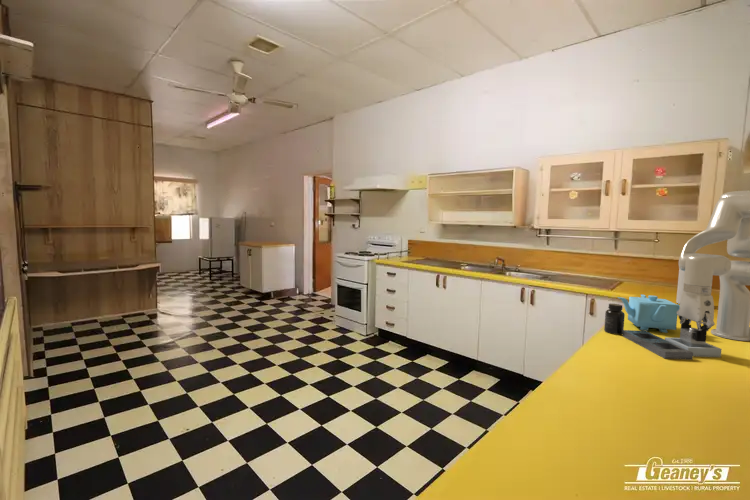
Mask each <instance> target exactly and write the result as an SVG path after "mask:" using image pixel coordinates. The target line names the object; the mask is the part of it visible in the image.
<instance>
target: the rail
mask: <svg viewBox="0 0 750 500" xmlns="http://www.w3.org/2000/svg"><path fill="white" fill-rule="evenodd" d="M621 336H622V337H623V338H625V339H628V340H629V341H631V342H633V343H634V344H636V345H638V346H640V347H642V348H644V349H646V350H648V351H649V352H652V353H654V354H655V355H656V356H659V357H662V358H663V359H665V360H666V359H667V360H689V361H690V360H691V361H693V358H694V356H693V352H691V351H688V350H686V349H684V348H682V347H680V346H677V345H675V344H673V343H671V342H669V341H666V340H665V338H662V337H660V336H658V335H655V334H653V333H651V332H648V331H643V330H633V329H632V330H631V329H630V330H629V329H627V330H626V329H624V330H622V334H621Z"/></svg>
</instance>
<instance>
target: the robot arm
mask: <svg viewBox="0 0 750 500" xmlns="http://www.w3.org/2000/svg"><path fill="white" fill-rule="evenodd" d="M724 241H727V242H726V252H727V255H729V256H731V257H734V258H743V259H750V190H735V191H727V192H724V193H722V194H721V195H720V196H719V199H718V200H717V201H716V203H715V206H714V208H713V210H712V213H711V215H710V218H709V221H708V223H707V226H706V228H705V229H704V230H702V231H701V232H699V233H696V234H695V235H694V236H692V237H691V238H690V239H688V240H687V241H686V243H685V244H684V246H683V248H682V250H681V253H680V255H679V257H678V258H679V259H678V269H679V268H680V269H681V270H682V271H685V276H684V287H683V293H682V296H681V300H680V307H679V310H678V311H677V317H678V319H679V323H680V329H681V328H686V329H689V328H692V324H691V322H692V321H693V322H695V323H696V328H697V329H698V330H696V335H695V341H702V342H705V341H706V342H707V334H708V333H707V332H709V330H710V329H711V328H712V327H714V326H715V325H716V326H715V328H713V329H711V330H710V333H711V334H712V335H714V336H716V337H719V338H724V339H729V340H734V341H741V342H742V341H745V342H750V290H749V288H748V287H746V286H750V261H746V260H744V261H743V260H730V258H728V257H727V256H724V255H720V254H709V253H699V252H698V253H696V252H697V251H699V250H700V249H702V248H703V247H706V246H708V245H712V244H716V243H720V242H724ZM713 276H718V277H719V299H718V307H717V316H716V323H715V322H714V318H715V303H714V297H713V295H712V286H713Z"/></svg>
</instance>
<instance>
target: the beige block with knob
mask: <svg viewBox="0 0 750 500" xmlns="http://www.w3.org/2000/svg"><path fill="white" fill-rule="evenodd" d="M696 330H698V328H697V327H691V328H689V329H686V328H681V327H680V334H679V338H680V343H681V344H684V345H686V346H688V347H705V344H706V343H707V340H706V341H705V342H702V341H695V335H696Z"/></svg>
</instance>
